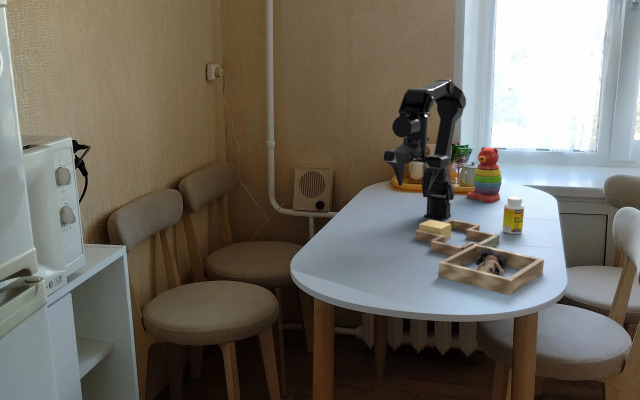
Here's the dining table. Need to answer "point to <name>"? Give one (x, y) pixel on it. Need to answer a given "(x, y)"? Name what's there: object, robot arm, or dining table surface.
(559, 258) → the dining table surface
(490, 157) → the stacking bear
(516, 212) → the supplement bottle
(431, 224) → the block
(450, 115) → the robot arm
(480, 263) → the toy figure
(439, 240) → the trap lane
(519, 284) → the fence
